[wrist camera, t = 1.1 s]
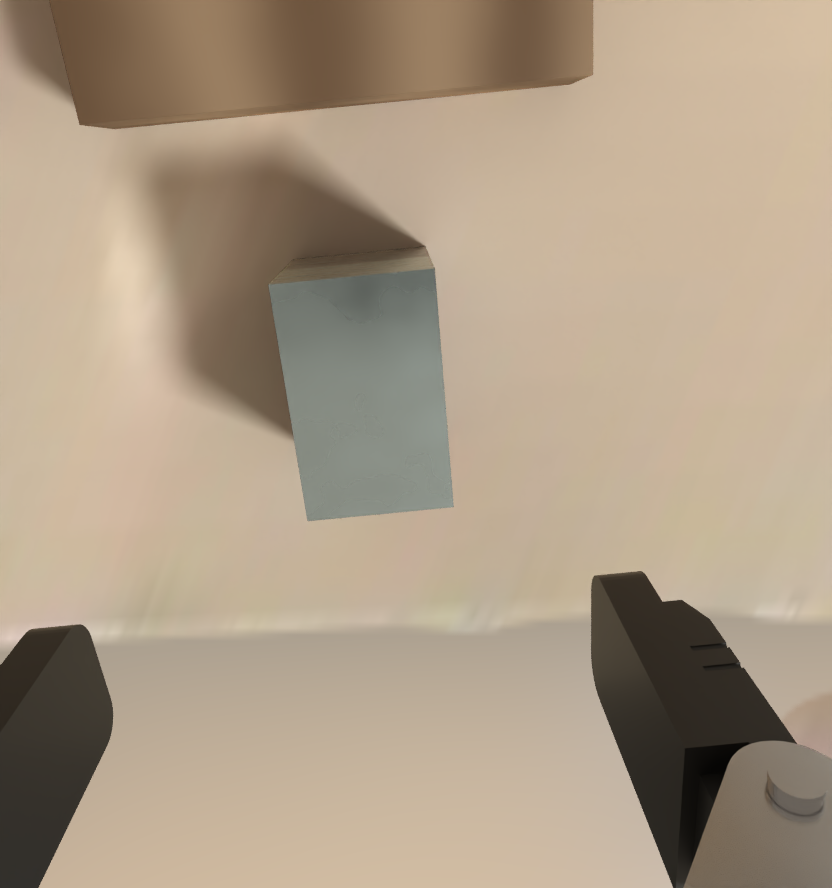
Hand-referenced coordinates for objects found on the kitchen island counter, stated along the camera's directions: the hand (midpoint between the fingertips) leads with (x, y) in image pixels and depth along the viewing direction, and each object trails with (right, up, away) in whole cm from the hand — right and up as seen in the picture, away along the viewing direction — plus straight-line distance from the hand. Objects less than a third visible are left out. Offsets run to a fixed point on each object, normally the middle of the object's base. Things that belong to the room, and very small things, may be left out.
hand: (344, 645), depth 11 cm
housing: (-1, +7, +17) cm, 18 cm away
